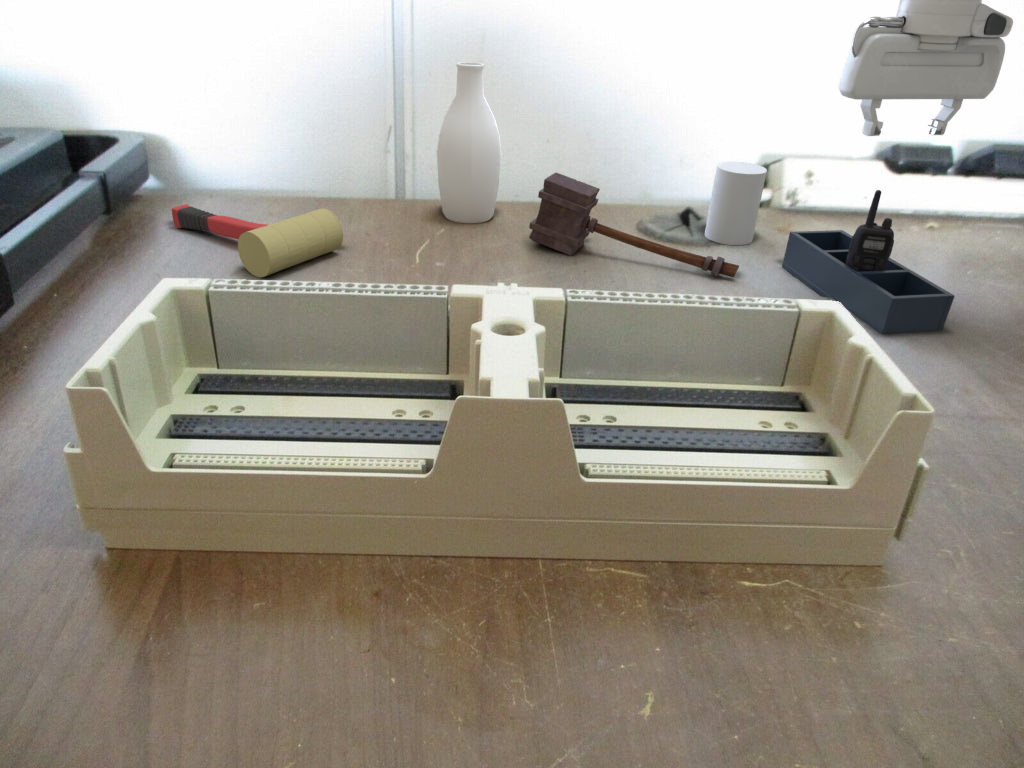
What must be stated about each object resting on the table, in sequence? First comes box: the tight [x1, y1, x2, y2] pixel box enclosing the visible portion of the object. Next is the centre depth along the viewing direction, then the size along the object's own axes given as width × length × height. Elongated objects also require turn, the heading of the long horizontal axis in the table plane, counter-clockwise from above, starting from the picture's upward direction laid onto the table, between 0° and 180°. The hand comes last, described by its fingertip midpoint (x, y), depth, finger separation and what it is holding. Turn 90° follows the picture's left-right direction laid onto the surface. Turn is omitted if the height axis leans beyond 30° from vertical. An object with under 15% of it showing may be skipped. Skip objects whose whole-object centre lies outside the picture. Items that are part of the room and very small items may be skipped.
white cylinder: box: [704, 161, 768, 246], centre depth 130 cm, size 8×8×12 cm
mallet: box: [171, 203, 344, 278], centre depth 118 cm, size 14×6×30 cm
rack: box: [781, 229, 956, 335], centre depth 110 cm, size 9×26×6 cm, turn 12°
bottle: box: [436, 61, 502, 224], centre depth 131 cm, size 11×11×25 cm
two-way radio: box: [845, 189, 895, 272], centre depth 107 cm, size 6×4×15 cm
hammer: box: [528, 172, 740, 278], centre depth 119 cm, size 7×33×10 cm, turn 66°
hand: (902, 134), depth 100 cm, fingers open, 8 cm apart
